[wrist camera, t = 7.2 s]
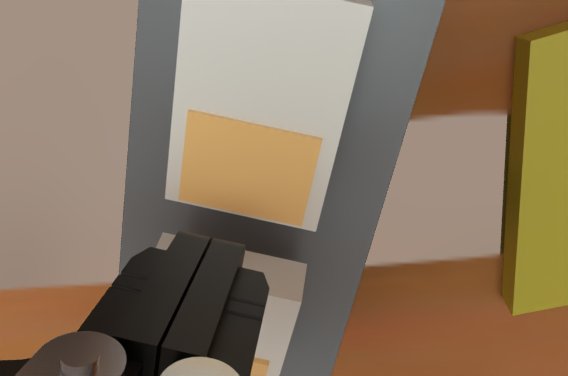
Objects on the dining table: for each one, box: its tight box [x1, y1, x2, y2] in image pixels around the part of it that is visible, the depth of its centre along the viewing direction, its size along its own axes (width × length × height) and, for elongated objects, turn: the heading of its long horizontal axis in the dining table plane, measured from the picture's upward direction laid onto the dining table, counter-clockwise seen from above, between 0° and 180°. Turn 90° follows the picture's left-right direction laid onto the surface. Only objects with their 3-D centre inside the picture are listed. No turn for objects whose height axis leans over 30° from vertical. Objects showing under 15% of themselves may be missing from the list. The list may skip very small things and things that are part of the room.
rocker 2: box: [156, 232, 307, 376], centre depth 18 cm, size 7×5×2 cm
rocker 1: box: [165, 0, 374, 232], centre depth 15 cm, size 7×5×2 cm
